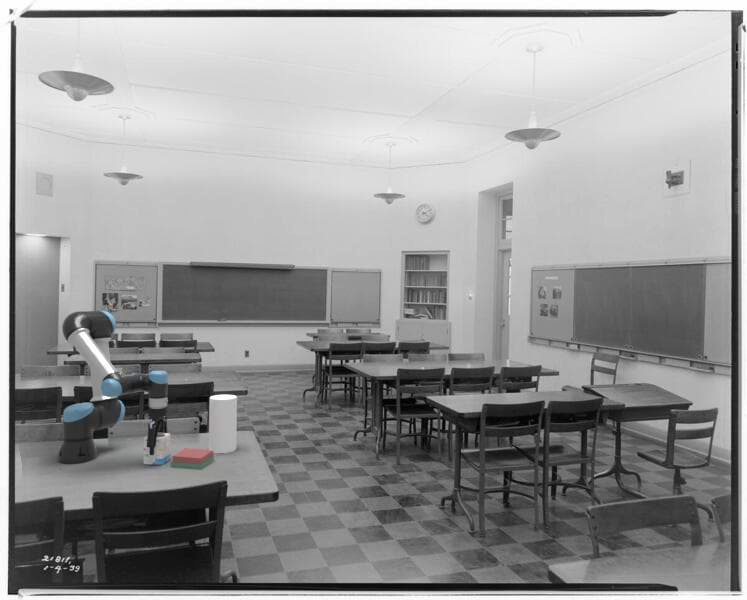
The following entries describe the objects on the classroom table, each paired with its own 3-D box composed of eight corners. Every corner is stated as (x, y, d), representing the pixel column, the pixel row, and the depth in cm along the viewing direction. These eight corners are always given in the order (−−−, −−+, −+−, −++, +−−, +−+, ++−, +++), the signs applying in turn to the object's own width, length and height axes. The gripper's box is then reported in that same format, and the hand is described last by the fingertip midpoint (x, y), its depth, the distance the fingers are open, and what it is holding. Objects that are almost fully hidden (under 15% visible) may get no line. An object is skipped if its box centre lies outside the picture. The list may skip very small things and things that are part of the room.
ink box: (171, 459, 244) (171, 429, 244) (161, 465, 236) (162, 434, 236) (152, 458, 245) (152, 428, 245) (142, 464, 237) (143, 433, 236)
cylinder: (231, 444, 269) (232, 393, 269) (239, 451, 259) (240, 398, 258) (205, 448, 262) (206, 395, 262) (213, 455, 252) (214, 400, 251)
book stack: (170, 467, 235) (170, 456, 235) (184, 459, 247) (184, 448, 246) (201, 470, 232) (201, 458, 232) (213, 461, 244) (214, 450, 244)
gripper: (155, 412, 229) (154, 467, 230) (176, 402, 250) (175, 451, 251) (138, 412, 229) (137, 466, 230) (160, 401, 251) (159, 451, 251)
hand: (157, 458), depth 241 cm, fingers closed on ink box, 8 cm apart
